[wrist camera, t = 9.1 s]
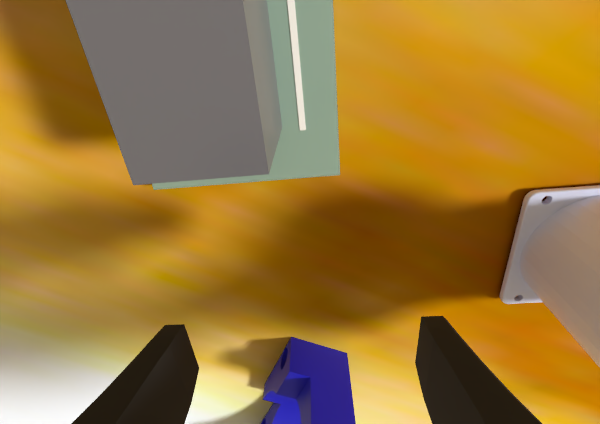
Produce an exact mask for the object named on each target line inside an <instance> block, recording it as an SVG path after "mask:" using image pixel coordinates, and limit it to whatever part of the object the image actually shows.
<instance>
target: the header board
mask: <svg viewBox="0 0 600 424" xmlns="http://www.w3.org/2000/svg"><path fill="white" fill-rule="evenodd" d="M267 6H268V14H269V22H270V31H271V39H272V47H273V55H274V63H275V72H276V80H277V88H278V96H279V105H280V113H281V121H282V130H281V134H280V137H279V141H278V144H277V148H276V151H275V155H274V158H273V162H272V166H271V169H270V173H269V174H266V175H254V176H241V177H229V178H217V179H204V180H192V181H179V182H167V183H155V184H152V186H153V189H154V190H157V189H170V188H182V187H195V186H207V185H220V184H232V183H245V182H257V181H270V180H283V179H295V178H308V177H320V176H333V175H340V162H339V138H338V114H337V90H336V66H335V42H334V18H333V0H267Z"/></svg>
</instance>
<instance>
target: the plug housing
mask: <svg viewBox="0 0 600 424" xmlns="http://www.w3.org/2000/svg"><path fill="white" fill-rule="evenodd" d="M66 3H67V6H68V8H69V11H70V14H71V17H72V19H73V22H74V25H75V27H76V30H77V33H78V36H79V38H80V41H81V44H82V47H83V49H84V52H85V55H86V57H87V60H88V63H89V66H90V68H91V71H92V74H93V77H94V79H95V82H96V85H97V87H98V90H99V93H100V96H101V98H102V101H103V104H104V107H105V109H106V112H107V115H108V117H109V120H110V123H111V126H112V128H113V131H114V134H115V136H116V139H117V142H118V145H119V147H120V150H121V153H122V156H123V158H124V161H125V164H126V166H127V169H128V172H129V175H130V177H131V180H132V183H133V185H142V184H155V183H167V182H179V181H192V180H204V179H217V178H229V177H241V176H254V175H266V174H269V173H270V169H271V166H272V162H273V158H274V155H275V151H276V148H277V144H278V141H279V137H280V134H281V130H282V121H281V113H280V105H279V96H278V88H277V80H276V72H275V63H274V55H273V47H272V39H271V31H270V22H269V14H268V6H267V0H66Z"/></svg>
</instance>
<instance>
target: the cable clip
mask: <svg viewBox="0 0 600 424" xmlns="http://www.w3.org/2000/svg"><path fill="white" fill-rule="evenodd" d="M263 400H267V401H270V402H274V403H273V404H272V406H271V408H270V409H269V411H268V412H267V414H266V416H265V417H264V419H263V421H262V422H261V424H356V423H355V415H354V407H353V398H352V390H351V382H350V374H349V366H348V357H347V353H344V352H341V351H338V350H334V349H331V348H328V347H324V346H321V345H318V344H314V343H311V342H307V341H304V340H301V339H297V338H294V337H291V338H290V340H289V342H288V344H287V345H286V347H285V349H284V351H283V353H282V354H281V356H280V358H279V360H278V361H277V363H276V365H275V367H274V369H273V370H272V372H271V374H270V376H269V377H268V379H267V381H266V383H265V387H264V395H263Z"/></svg>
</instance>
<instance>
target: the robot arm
mask: <svg viewBox="0 0 600 424" xmlns="http://www.w3.org/2000/svg"><path fill="white" fill-rule="evenodd" d="M546 196H548V197H547V198H546V199H545V200H544V201H542V199H543V198H544V197H546ZM517 295H518V296H517ZM500 299H501V300H502V302H503V303H505V304H516V303H535V302H543V303H544V304H545V305H546V306H547V307H548V308H549V310H550V311H551V312H552V313H553V314H554V315H555V317H556V318H557V319H558V320H559V321H560V322H561V324H562V325H563V326H564V327H565V328H566V329H567V330H568V332H569V333H570V334H571V335H572V336H573V337H574V339H575V340H576V341H577V342H578V343H579V344H580V346H581V347H582V348H583V349H584V350H585V351H586V352H587V354H588V355H589V356H590V357H591V358H592V359H593V361H594V362H595V363H596V364H597V365H598V366H599V368H600V185H595V186H581V187H568V188H554V189H541V190H533V191H530V192H529V193H527V195H526V196H525V198H524V200H523V204H522V208H521V212H520V216H519V220H518V224H517V228H516V232H515V236H514V240H513V244H512V248H511V252H510V256H509V260H508V264H507V268H506V272H505V276H504V280H503V283H502V287H501V291H500ZM415 363H416V368H417V372H418V376H419V381H420V385H421V389H422V393H423V397H424V401H425V403H426V406H427V409H428V412H429V415H430V418H431V421H432V424H542V423H541V422H540V421H539V420H538V419H537V418H536V417H535V416H534V415H533V414H532V413H531V412H530V411H529V410H528V409H527V408H526V407H525V406H524V405H523V404H522V403H521V402H520V401H519V400H518V399H517V398H516V397H515V396H514V395H513V394H512V393H511V392H510V391H509V390H508V389H507V388H506V387H505V386H504V384H503V383H502V382H501V381H500V380H499V379H498V378H497V377H496V376H495V375H494V374H493V373H492V372H491V371H490V369H489V368H488V367H487V366H486V365H485V364H484V363H483V362H482V361H481V360H480V358H479V357H478V356H477V355H476V354H475V353H474V352H473V350H472V349H471V348H470V347H469V346H468V345H467V344H466V342H465V341H464V340H463V339H462V338H461V336H460V335H459V334H458V333H457V332H456V331H455V329H454V328H453V327H452V326H451V325H450V323H449V322H448V321H447V320H446V319H445V318H444V317H443V316H429V317H421V324H420V331H419V339H418V346H417V354H416V362H415ZM198 370H199V366H198V364H197V361H196V358H195V355H194V352H193V349H192V346H191V343H190V340H189V337H188V334H187V331H186V329H185V326H184V325H165V326H164V327H163V328H162V329H161V330H160V331H159V332H158V333H157V334H156V335H155V337H154V338H153V339H152V340H151V341H150V342H149V343H148V344H147V345H146V346H145V347H144V349H143V350H142V351H141V352H140V353H139V354H138V355H137V356H136V357H135V358H134V360H133V361H132V362H131V363H130V364H129V365H128V366H127V367H126V368H125V369H124V370H123V371H122V373H121V374H120V375H119V376H118V377H117V378H116V379H115V380H114V381H113V382H112V383H111V384H110V385H109V386H108V387H107V388H106V390H105V391H104V392H103V393H102V394H101V395H100V396H99V397H98V398H97V399H96V400H95V401H94V402H93V403H92V404H91V405H90V406H89V407H88V408H87V409H86V410H85V411H84V412H83V413H82V414H81V415H80V416H79V417H78V418H77V419H76V420H75V421H74V422H73V423H72V424H184V423H185V420H186V417H187V414H188V411H189V408H190V405H191V401H192V397H193V393H194V389H195V384H196V380H197V375H198Z"/></svg>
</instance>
